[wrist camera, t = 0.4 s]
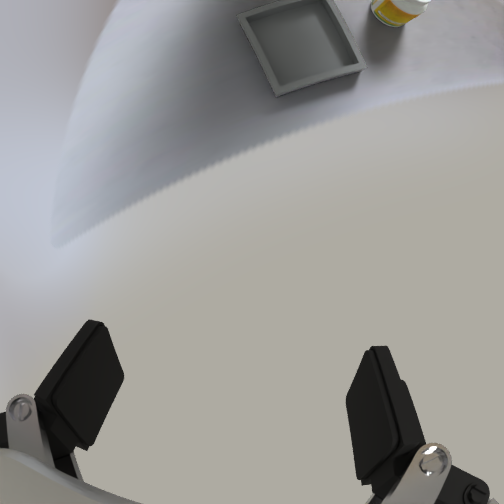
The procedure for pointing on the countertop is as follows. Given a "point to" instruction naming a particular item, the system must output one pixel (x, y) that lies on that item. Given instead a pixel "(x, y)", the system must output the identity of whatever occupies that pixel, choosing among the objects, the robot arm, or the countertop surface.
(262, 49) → the tray
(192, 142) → the countertop surface
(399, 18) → the supplement bottle
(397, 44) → the countertop surface
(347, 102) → the countertop surface
